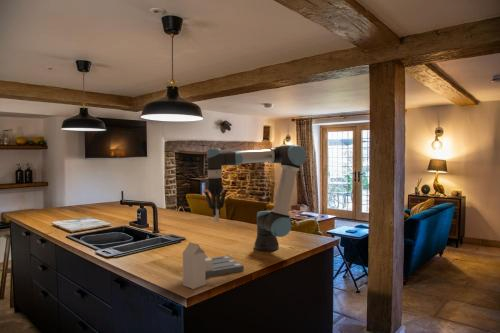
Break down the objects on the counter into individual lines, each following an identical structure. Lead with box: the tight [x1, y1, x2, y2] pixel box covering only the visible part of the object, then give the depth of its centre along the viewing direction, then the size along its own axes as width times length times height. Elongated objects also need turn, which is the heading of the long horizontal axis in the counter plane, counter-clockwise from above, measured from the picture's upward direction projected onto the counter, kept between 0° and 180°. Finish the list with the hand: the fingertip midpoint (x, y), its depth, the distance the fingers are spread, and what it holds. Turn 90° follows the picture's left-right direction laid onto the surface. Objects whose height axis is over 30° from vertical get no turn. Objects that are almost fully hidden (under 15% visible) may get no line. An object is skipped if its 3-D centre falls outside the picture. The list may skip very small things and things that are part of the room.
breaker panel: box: [205, 254, 245, 278], centre depth 181 cm, size 24×20×8 cm
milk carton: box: [182, 241, 206, 290], centre depth 158 cm, size 7×7×19 cm
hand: (216, 221), depth 190 cm, fingers closed
